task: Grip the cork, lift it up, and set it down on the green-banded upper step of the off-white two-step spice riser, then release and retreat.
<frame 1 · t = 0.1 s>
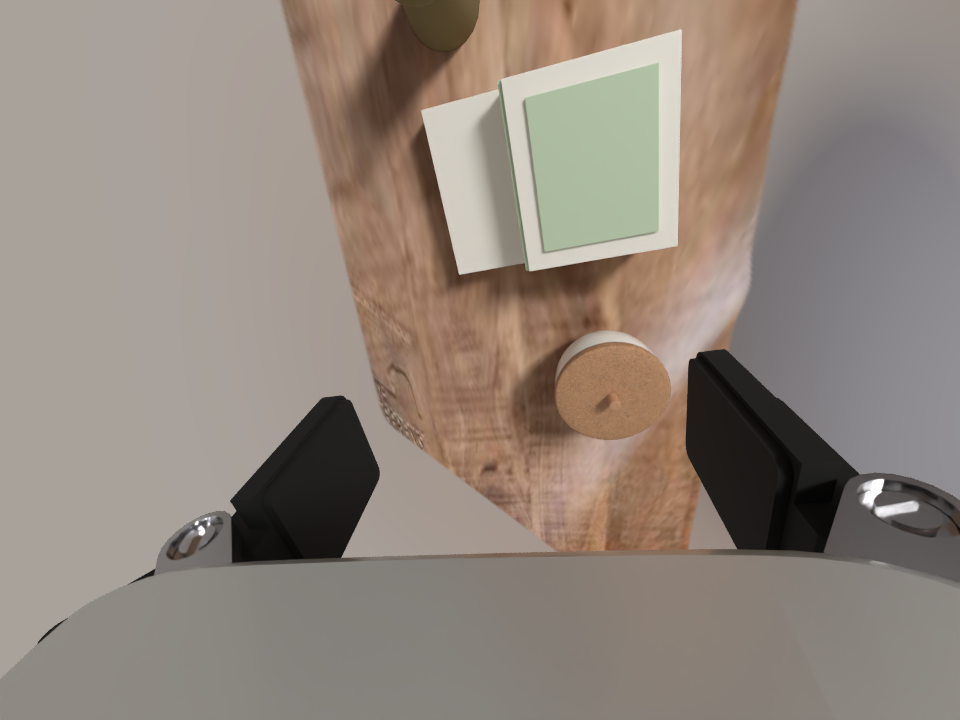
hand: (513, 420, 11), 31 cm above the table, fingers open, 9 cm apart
lidded jar: (598, 358, 44), on the table
spice riser: (551, 174, 35), on the table
cork: (442, 5, 31), on the table
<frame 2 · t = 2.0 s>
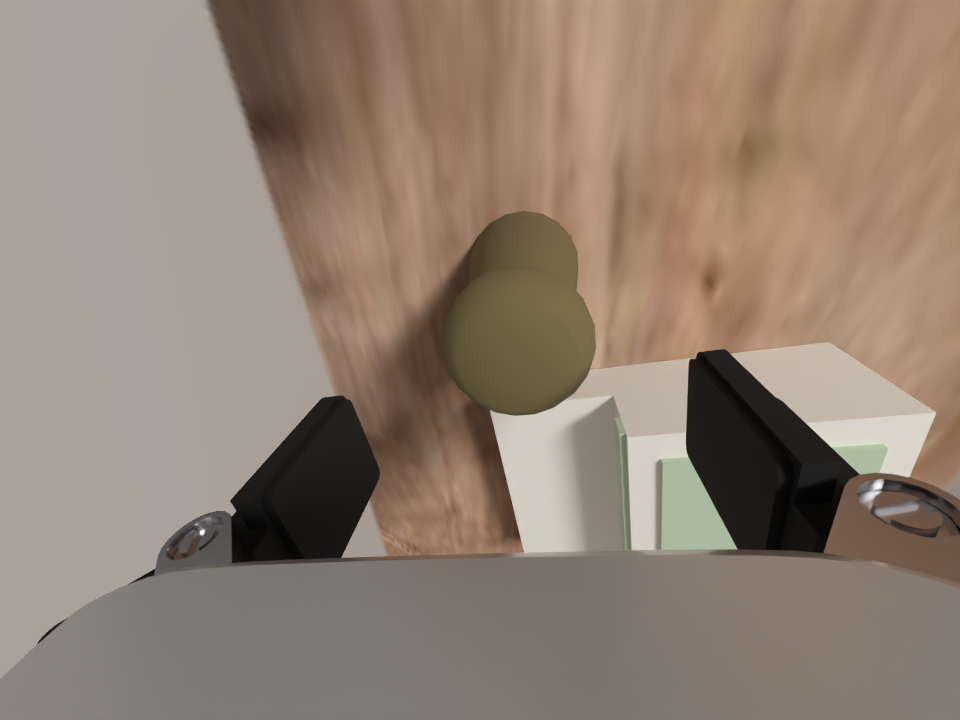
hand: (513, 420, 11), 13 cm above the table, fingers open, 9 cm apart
spice riser: (655, 450, 26), on the table
cork: (522, 267, 21), on the table
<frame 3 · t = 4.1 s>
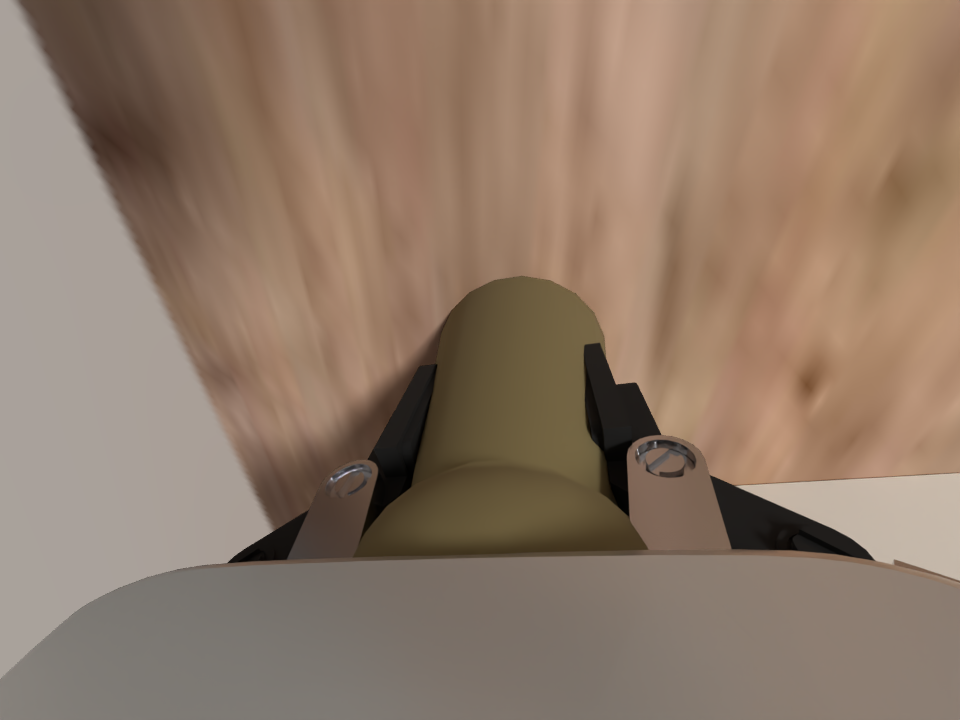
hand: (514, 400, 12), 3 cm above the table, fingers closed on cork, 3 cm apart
spice riser: (706, 592, 19), on the table
cork: (520, 355, 14), on the table, touching gripper
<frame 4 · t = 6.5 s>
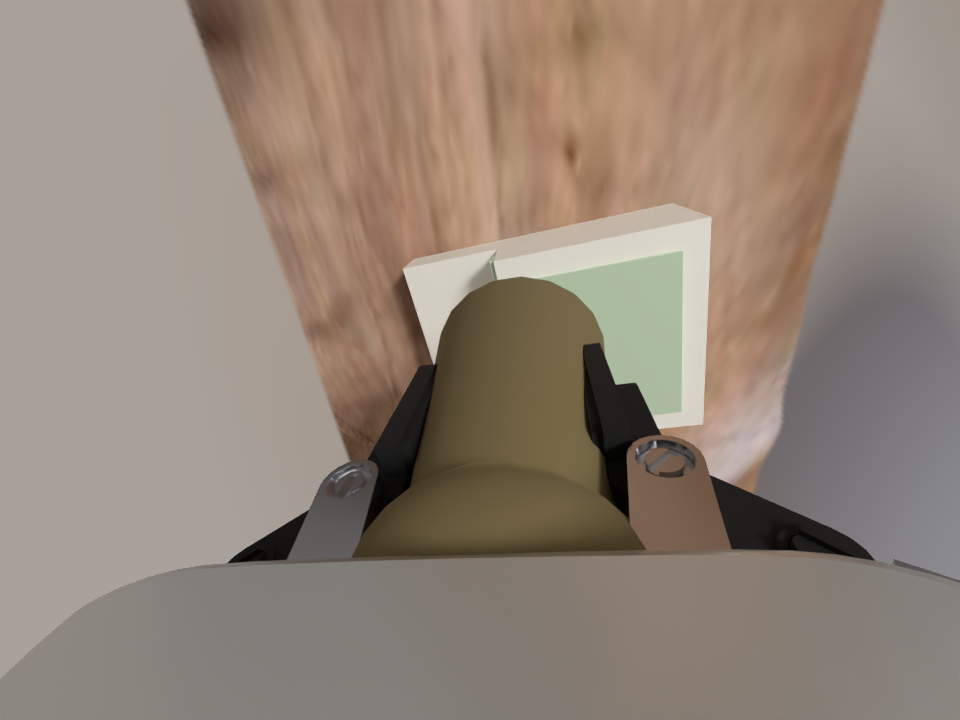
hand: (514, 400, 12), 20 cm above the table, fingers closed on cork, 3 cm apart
spice riser: (554, 318, 31), on the table
cork: (519, 355, 14), point 17 cm above the table, touching gripper
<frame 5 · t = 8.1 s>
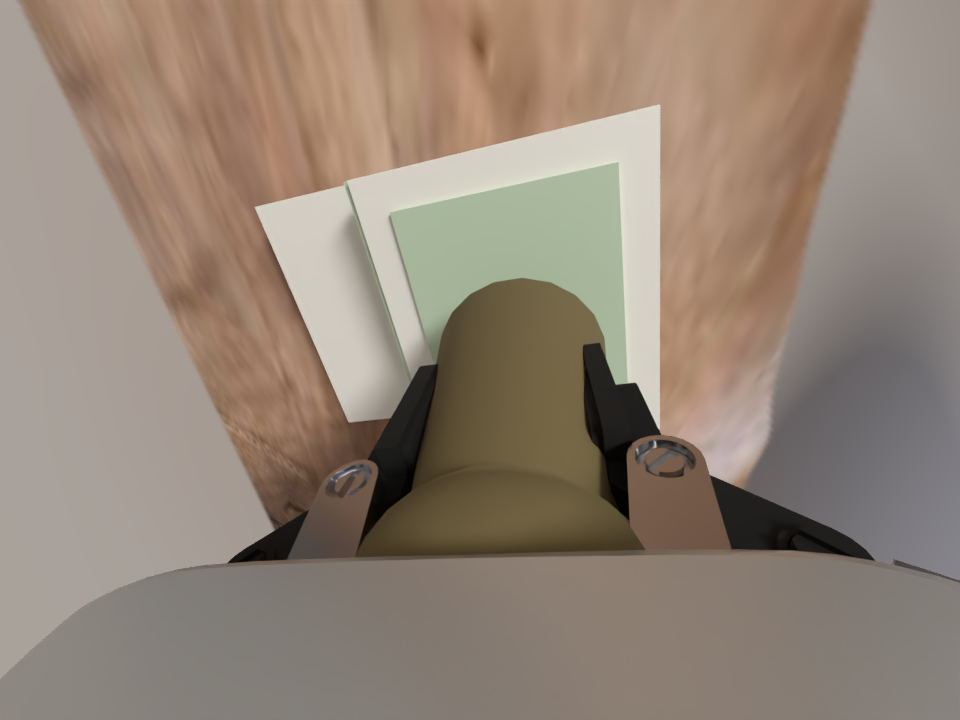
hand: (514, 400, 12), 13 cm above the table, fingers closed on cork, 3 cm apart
spice riser: (474, 287, 24), on the table
cork: (520, 356, 14), point 10 cm above the table, touching gripper
when the fingers open (11 cm above the table, at t = 9.2 s): cork drops 1 cm, resting on spice riser.
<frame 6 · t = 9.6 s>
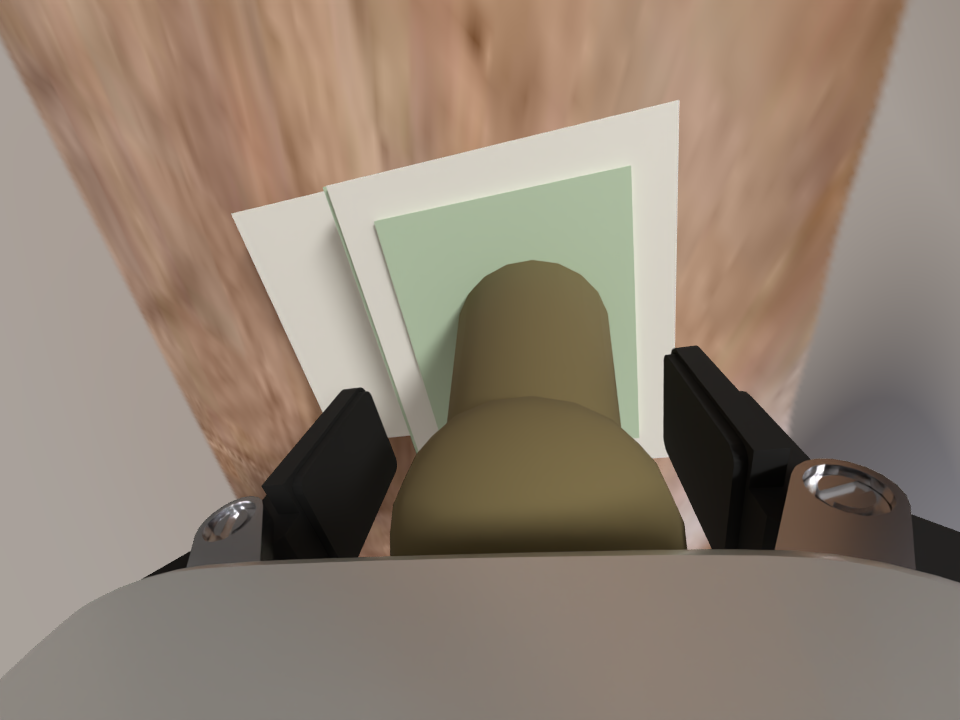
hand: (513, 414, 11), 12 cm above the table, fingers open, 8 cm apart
spice riser: (471, 299, 22), on the table
cork: (531, 333, 15), point 7 cm above the table, touching spice riser
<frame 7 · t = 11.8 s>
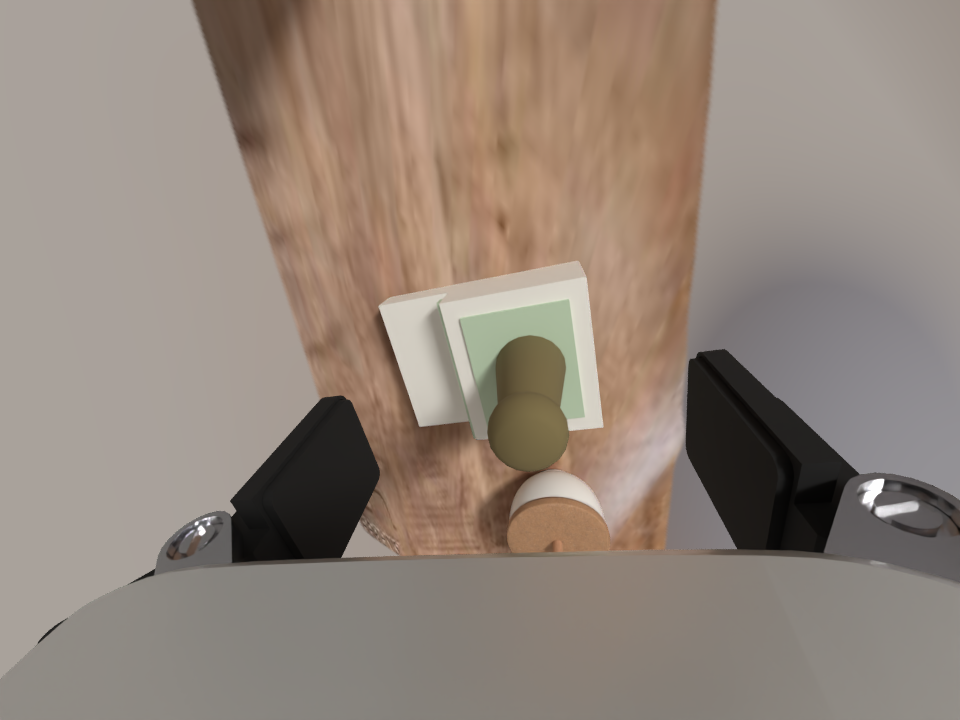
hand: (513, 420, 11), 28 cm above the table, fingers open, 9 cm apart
lidded jar: (554, 487, 47), on the table
spice riser: (498, 344, 40), on the table
cork: (530, 366, 33), point 7 cm above the table, touching spice riser
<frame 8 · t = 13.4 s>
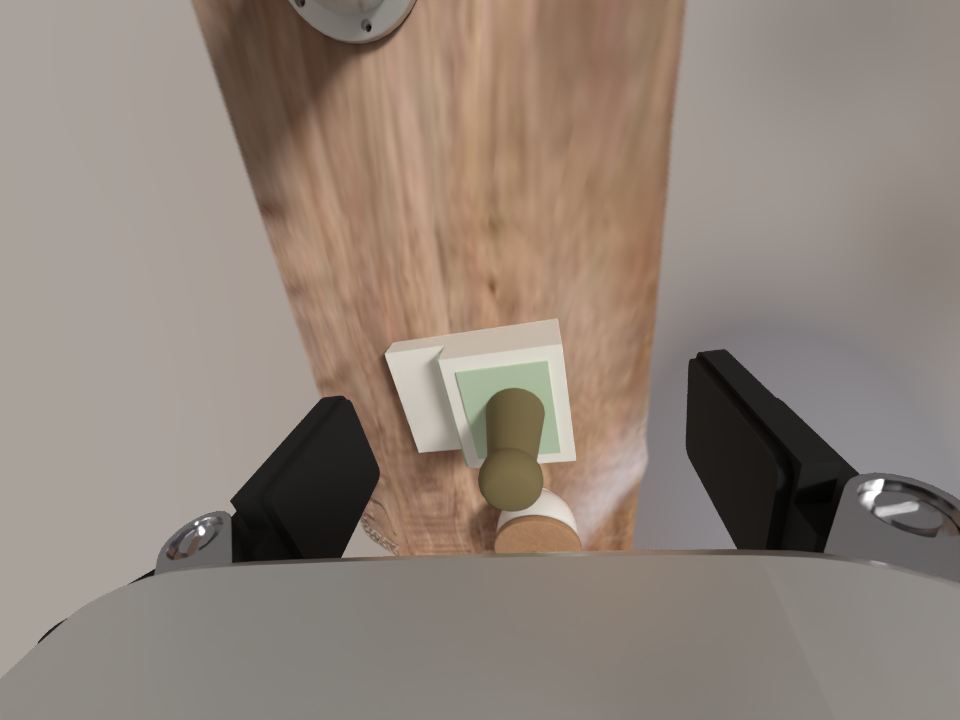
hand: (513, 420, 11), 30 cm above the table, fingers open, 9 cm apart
lidded jar: (536, 501, 54), on the table
spice riser: (488, 383, 46), on the table
cork: (515, 411, 39), point 7 cm above the table, touching spice riser
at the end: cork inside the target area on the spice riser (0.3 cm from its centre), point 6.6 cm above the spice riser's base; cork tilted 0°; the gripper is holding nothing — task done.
